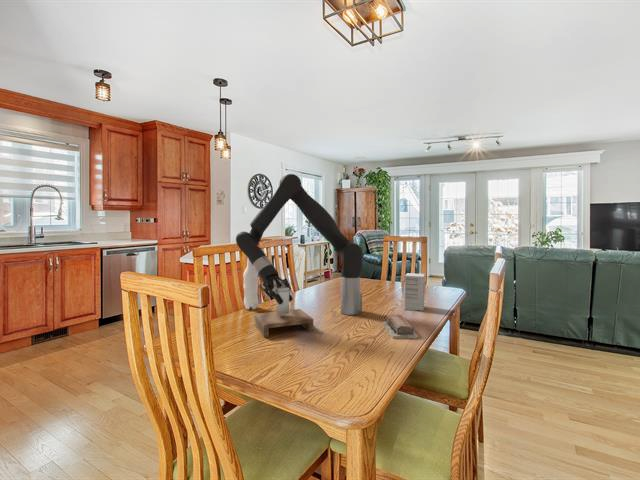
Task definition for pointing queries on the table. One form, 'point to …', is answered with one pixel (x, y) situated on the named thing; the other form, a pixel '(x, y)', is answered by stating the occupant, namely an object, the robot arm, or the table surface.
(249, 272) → the water bottle
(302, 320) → the shelf riser
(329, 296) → the table surface
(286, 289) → the tumbler
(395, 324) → the packaged product
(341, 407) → the table surface
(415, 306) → the supplement box
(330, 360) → the table surface
